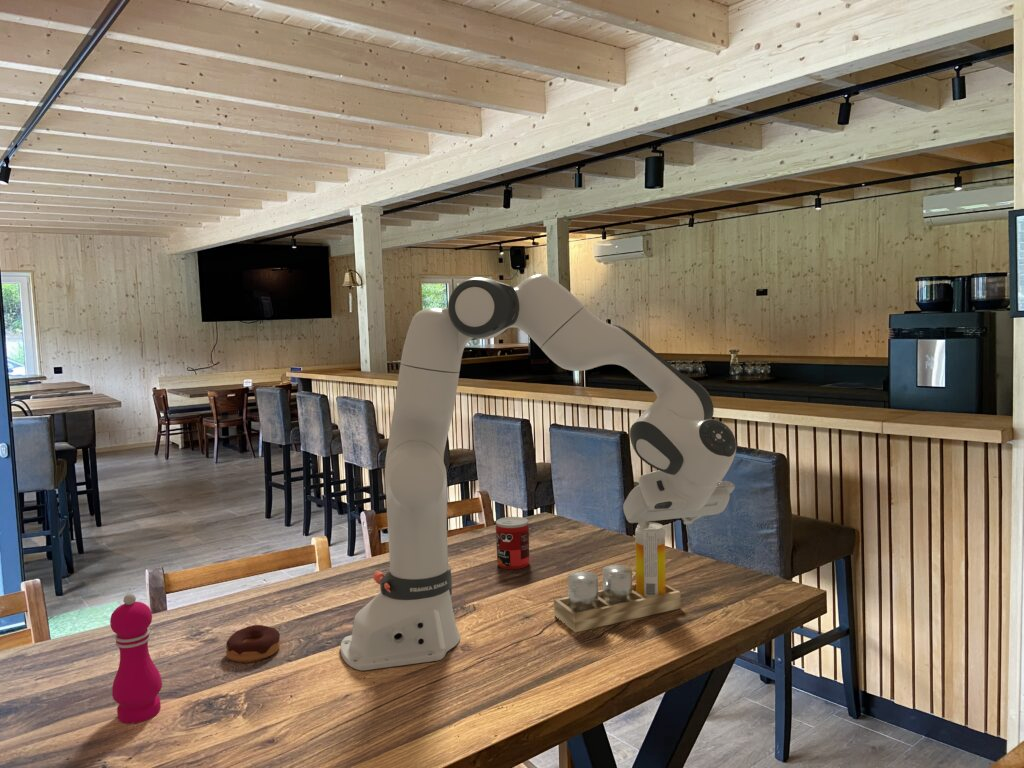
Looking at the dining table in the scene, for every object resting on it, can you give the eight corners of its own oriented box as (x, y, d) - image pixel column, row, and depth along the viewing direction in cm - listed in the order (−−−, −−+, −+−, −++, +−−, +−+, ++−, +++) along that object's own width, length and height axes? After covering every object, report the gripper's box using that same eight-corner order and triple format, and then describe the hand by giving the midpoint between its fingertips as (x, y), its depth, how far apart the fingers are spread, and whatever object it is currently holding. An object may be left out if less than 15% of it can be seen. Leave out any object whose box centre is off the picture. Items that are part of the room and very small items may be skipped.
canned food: (493, 561, 191) (492, 518, 190) (524, 557, 194) (522, 515, 193) (502, 571, 184) (500, 527, 183) (533, 567, 187) (532, 523, 185)
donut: (250, 670, 138) (248, 649, 138) (214, 658, 143) (212, 638, 143) (292, 647, 147) (291, 627, 146) (257, 637, 152) (256, 618, 152)
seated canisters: (577, 618, 151) (577, 584, 150) (563, 607, 156) (562, 574, 155) (638, 605, 156) (637, 571, 156) (622, 595, 162) (621, 563, 161)
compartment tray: (575, 632, 149) (574, 615, 149) (554, 616, 157) (554, 599, 157) (680, 608, 159) (680, 591, 159) (656, 594, 167) (655, 578, 167)
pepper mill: (171, 700, 128) (161, 584, 126) (152, 724, 121) (142, 601, 119) (127, 702, 128) (116, 586, 126) (105, 726, 120) (94, 603, 118)
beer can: (663, 589, 164) (662, 521, 162) (667, 600, 158) (666, 529, 156) (634, 590, 164) (633, 521, 163) (638, 601, 158) (636, 530, 157)
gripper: (731, 467, 146) (706, 504, 157) (632, 476, 141) (612, 514, 152) (744, 495, 142) (717, 532, 153) (642, 505, 137) (621, 542, 148)
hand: (664, 523), depth 152 cm, fingers open, 8 cm apart
